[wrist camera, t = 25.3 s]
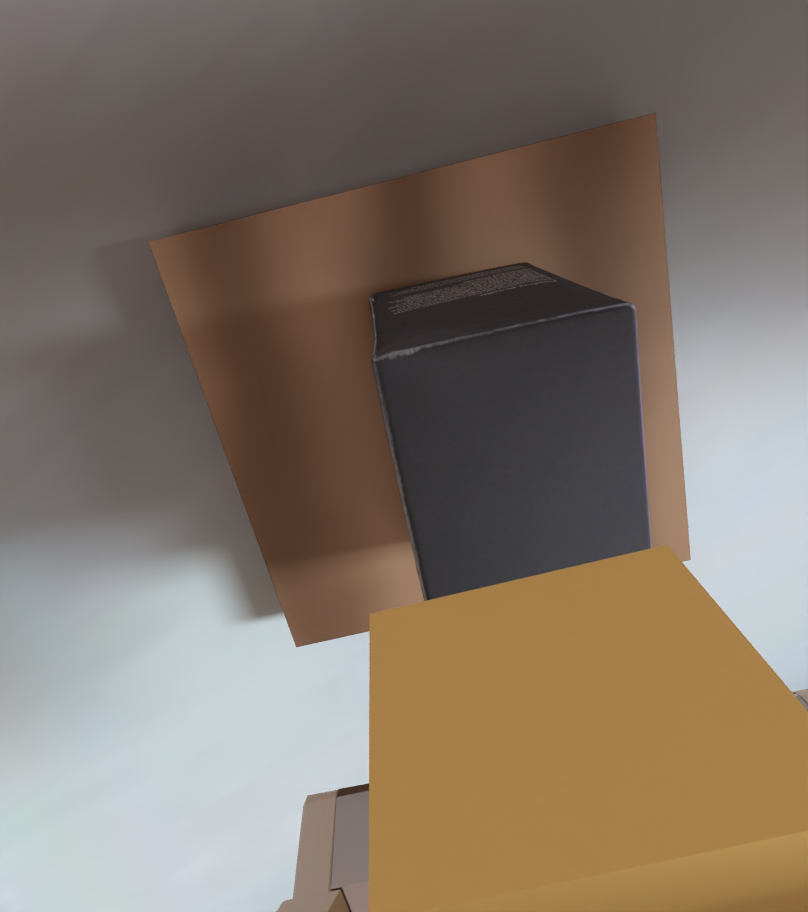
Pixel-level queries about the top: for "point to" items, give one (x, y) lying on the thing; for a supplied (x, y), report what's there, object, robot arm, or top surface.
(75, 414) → the top surface
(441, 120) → the top surface
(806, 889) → the mustard block
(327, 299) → the base board
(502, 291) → the small box
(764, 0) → the top surface
